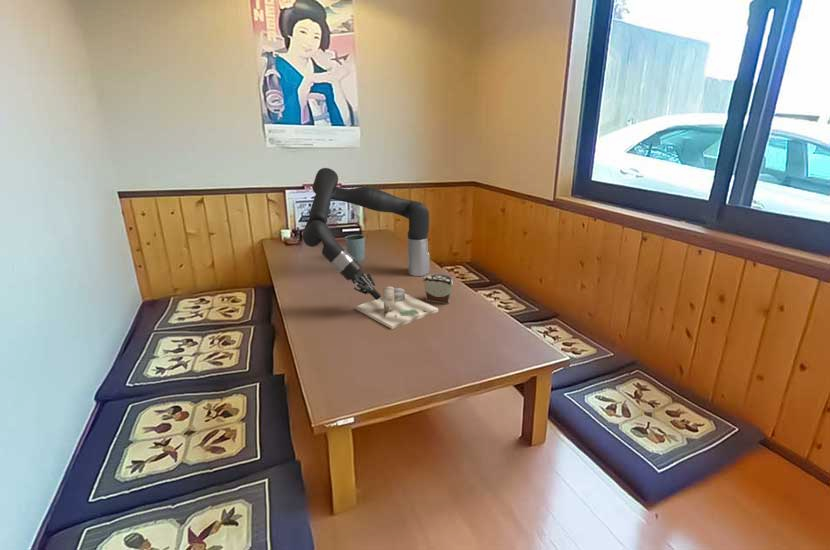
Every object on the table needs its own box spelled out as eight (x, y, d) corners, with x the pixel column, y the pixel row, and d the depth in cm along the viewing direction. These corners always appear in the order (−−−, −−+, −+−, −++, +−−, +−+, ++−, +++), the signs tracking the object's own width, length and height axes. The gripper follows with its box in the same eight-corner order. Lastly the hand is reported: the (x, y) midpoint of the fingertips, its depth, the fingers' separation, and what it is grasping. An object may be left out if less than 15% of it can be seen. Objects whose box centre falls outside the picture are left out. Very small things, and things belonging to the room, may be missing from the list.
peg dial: (392, 294, 179) (391, 275, 176) (406, 295, 178) (406, 276, 175) (378, 313, 162) (376, 292, 159) (393, 314, 161) (392, 293, 158)
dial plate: (400, 294, 183) (400, 291, 183) (438, 311, 167) (438, 308, 166) (355, 309, 170) (355, 305, 169) (392, 329, 153) (391, 325, 153)
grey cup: (369, 258, 230) (368, 236, 226) (357, 263, 222) (356, 240, 218) (354, 255, 236) (353, 233, 232) (342, 260, 228) (340, 238, 224)
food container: (457, 298, 178) (457, 275, 174) (451, 304, 172) (452, 280, 169) (429, 294, 183) (429, 271, 179) (423, 299, 177) (422, 276, 174)
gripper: (347, 265, 172) (378, 297, 174) (333, 277, 160) (366, 311, 162) (359, 253, 169) (390, 285, 171) (345, 264, 157) (380, 299, 159)
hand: (379, 298), depth 166 cm, fingers closed
